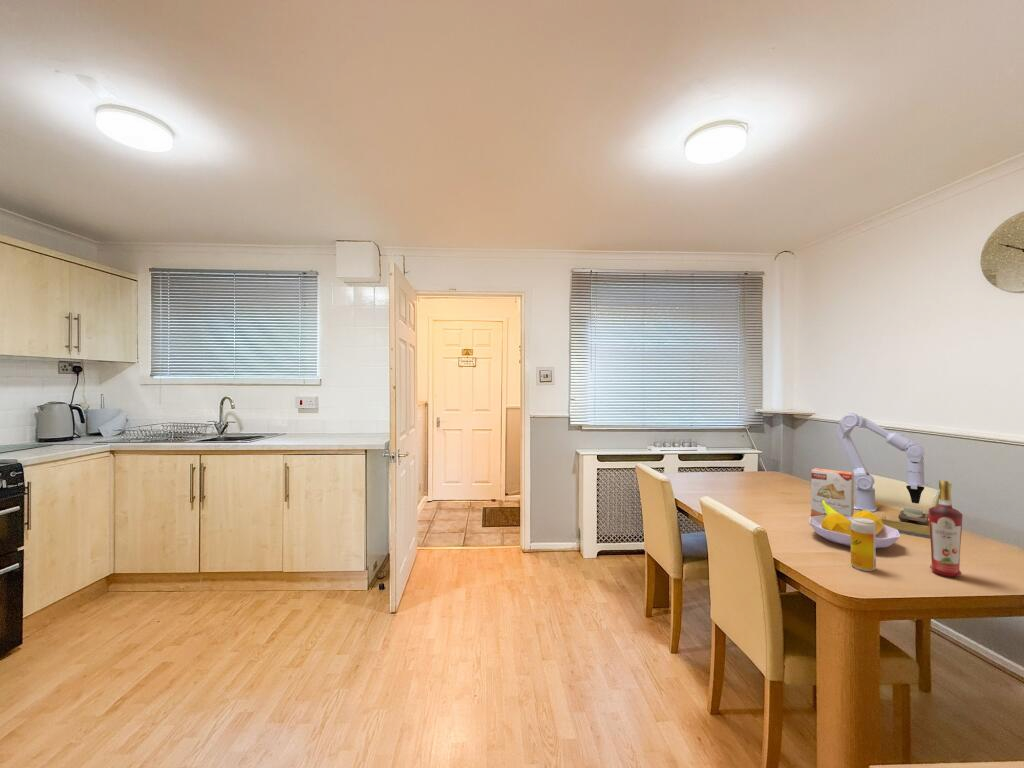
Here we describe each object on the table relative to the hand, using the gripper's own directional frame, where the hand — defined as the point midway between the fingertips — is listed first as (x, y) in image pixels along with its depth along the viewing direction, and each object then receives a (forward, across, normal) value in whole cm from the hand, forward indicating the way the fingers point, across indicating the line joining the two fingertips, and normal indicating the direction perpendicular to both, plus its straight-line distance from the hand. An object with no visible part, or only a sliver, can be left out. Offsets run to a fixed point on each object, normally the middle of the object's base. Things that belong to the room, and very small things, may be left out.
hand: (915, 503), depth 190 cm
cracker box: (+6, -32, +24) cm, 40 cm away
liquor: (+6, -72, -11) cm, 73 cm away
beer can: (+6, -84, +7) cm, 85 cm away
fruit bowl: (+6, -57, +14) cm, 59 cm away
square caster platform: (+6, -10, 0) cm, 12 cm away
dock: (+6, -25, 0) cm, 26 cm away
